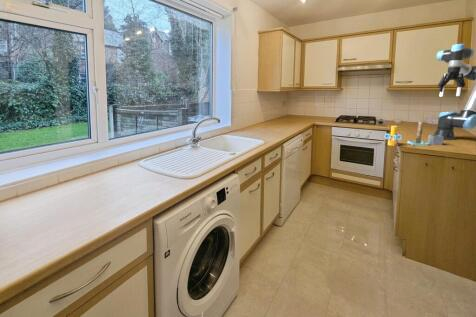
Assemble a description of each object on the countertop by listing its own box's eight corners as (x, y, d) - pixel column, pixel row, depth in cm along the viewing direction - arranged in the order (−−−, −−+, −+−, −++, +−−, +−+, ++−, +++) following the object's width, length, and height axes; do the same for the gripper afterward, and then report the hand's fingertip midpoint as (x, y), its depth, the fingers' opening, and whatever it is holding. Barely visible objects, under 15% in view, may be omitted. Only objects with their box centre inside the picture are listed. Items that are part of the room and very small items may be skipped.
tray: (421, 144, 217) (422, 141, 216) (428, 146, 207) (429, 143, 207) (406, 144, 218) (407, 140, 218) (412, 146, 209) (413, 143, 208)
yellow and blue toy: (402, 147, 208) (404, 127, 204) (387, 146, 210) (389, 127, 206) (396, 143, 220) (399, 125, 216) (382, 143, 222) (384, 124, 218)
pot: (436, 144, 216) (438, 134, 214) (442, 146, 209) (443, 136, 207) (427, 144, 217) (428, 134, 215) (432, 146, 210) (433, 136, 208)
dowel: (416, 143, 215) (419, 121, 210) (420, 144, 212) (424, 122, 208) (414, 144, 213) (418, 122, 209) (419, 144, 211) (422, 122, 206)
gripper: (465, 67, 207) (460, 95, 212) (434, 67, 205) (430, 96, 210) (475, 66, 200) (469, 96, 205) (443, 66, 198) (438, 96, 203)
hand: (449, 96), depth 208 cm, fingers open, 13 cm apart
